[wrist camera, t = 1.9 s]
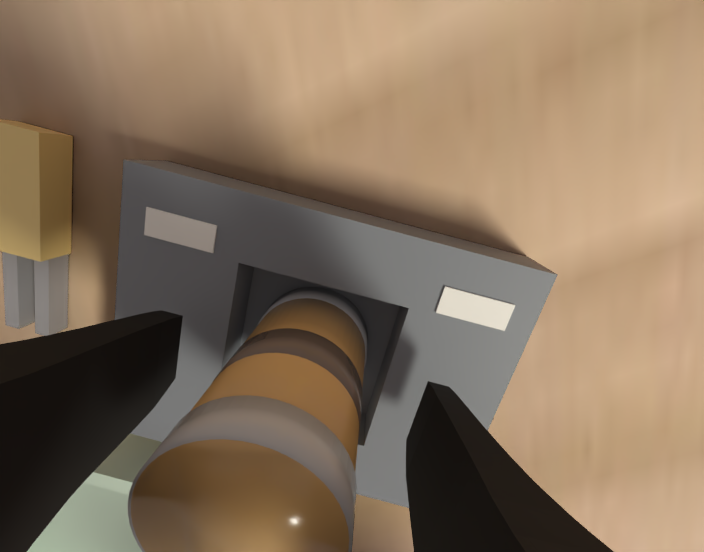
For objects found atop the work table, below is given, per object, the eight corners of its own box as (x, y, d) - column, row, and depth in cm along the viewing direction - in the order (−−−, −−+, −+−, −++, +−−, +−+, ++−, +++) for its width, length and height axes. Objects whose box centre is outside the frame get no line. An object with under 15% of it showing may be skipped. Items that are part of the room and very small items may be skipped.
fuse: (380, 302, 12) (380, 474, 5) (353, 394, 13) (323, 633, 6) (272, 273, 12) (135, 408, 5) (254, 368, 13) (121, 578, 6)
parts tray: (237, 448, 15) (209, 503, 12) (203, 620, 18) (177, 690, 16) (-24, 378, 15) (-103, 419, 12) (-10, 563, 18) (-69, 624, 16)
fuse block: (528, 256, 12) (558, 275, 10) (438, 471, 14) (448, 520, 12) (166, 160, 12) (122, 159, 10) (145, 392, 14) (107, 428, 12)
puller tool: (19, 121, 12) (-22, 116, 10) (72, 135, 12) (38, 132, 10) (24, 315, 14) (-9, 329, 12) (70, 328, 14) (41, 342, 12)
